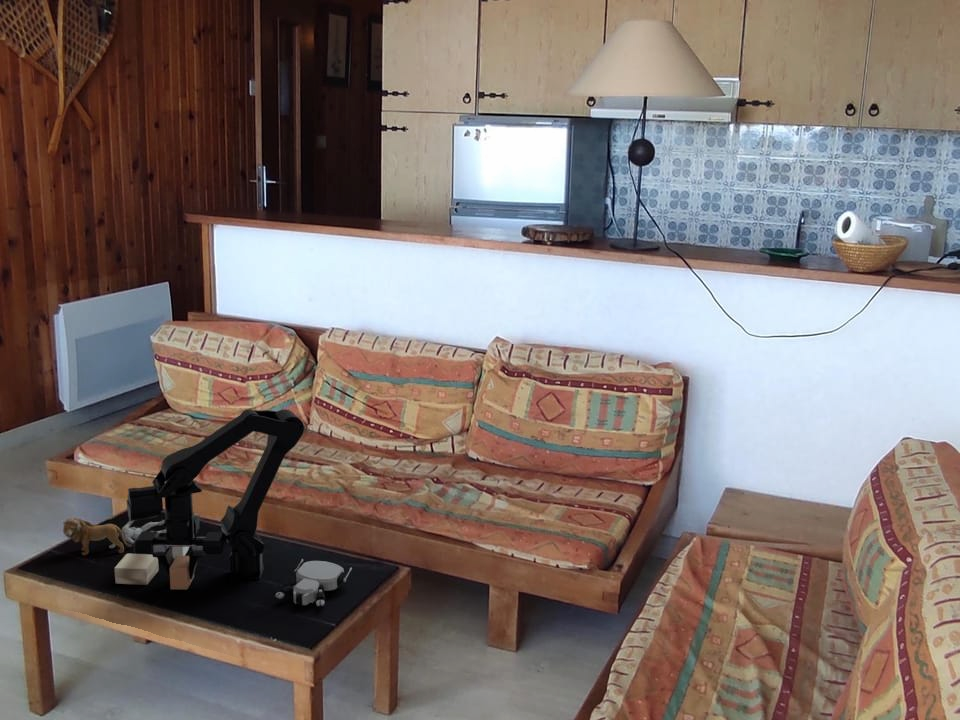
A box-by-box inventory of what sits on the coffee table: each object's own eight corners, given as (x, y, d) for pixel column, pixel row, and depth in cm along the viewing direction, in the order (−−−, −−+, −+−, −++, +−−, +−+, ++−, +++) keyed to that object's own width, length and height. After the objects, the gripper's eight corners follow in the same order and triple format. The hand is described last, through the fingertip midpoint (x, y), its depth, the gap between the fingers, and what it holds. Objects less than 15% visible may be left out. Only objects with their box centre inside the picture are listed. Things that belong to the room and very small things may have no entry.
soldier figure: (169, 542, 227) (125, 542, 217) (159, 550, 229) (114, 551, 220) (163, 513, 230) (119, 512, 221) (152, 522, 232) (108, 521, 223)
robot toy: (324, 618, 195) (353, 581, 208) (323, 599, 193) (353, 563, 207) (272, 608, 198) (304, 572, 212) (271, 589, 197) (303, 554, 210)
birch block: (158, 570, 211) (157, 554, 210) (147, 585, 204) (146, 569, 203) (128, 569, 211) (127, 553, 210) (115, 584, 204) (114, 567, 203)
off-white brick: (189, 547, 222) (188, 528, 221) (183, 558, 216) (182, 539, 215) (174, 547, 222) (173, 528, 221) (167, 558, 216) (166, 538, 215)
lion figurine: (64, 560, 214) (61, 524, 211) (65, 550, 218) (63, 514, 216) (132, 552, 218) (130, 517, 216) (132, 542, 223) (130, 508, 221)
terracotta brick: (194, 576, 207) (193, 555, 206) (187, 589, 201) (186, 568, 200) (177, 576, 207) (176, 555, 205) (170, 589, 201) (169, 568, 200)
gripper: (230, 498, 208) (232, 561, 212) (146, 497, 207) (149, 561, 211) (220, 518, 197) (222, 585, 201) (130, 518, 196) (134, 584, 200)
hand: (182, 578), depth 204 cm, fingers closed on terracotta brick, 4 cm apart
